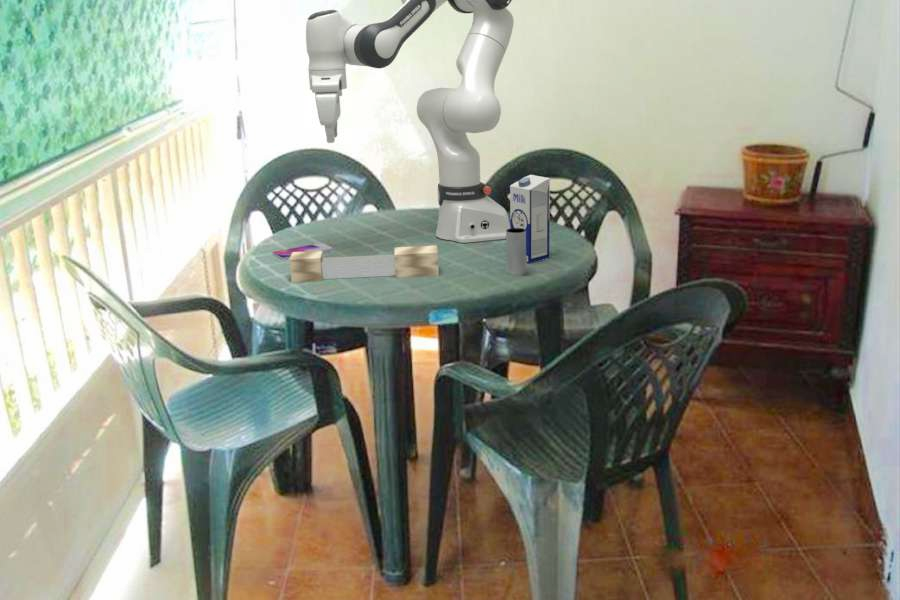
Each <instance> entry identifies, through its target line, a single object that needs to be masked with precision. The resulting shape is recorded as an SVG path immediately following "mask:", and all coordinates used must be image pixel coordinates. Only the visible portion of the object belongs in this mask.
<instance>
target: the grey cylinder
mask: <svg viewBox="0 0 900 600" xmlns="http://www.w3.org/2000/svg"><path fill="white" fill-rule="evenodd" d="M505 244H506V245H505V247H506V249H505V250H506V252H505V253H506V254H505V255H506V257H505V258H506V264H505V265H506V274H507V275H510V276H523V275H526V273H527V263H526V230H525V229H523V228H510V229H507V230H506V239H505Z"/></svg>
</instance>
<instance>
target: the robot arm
mask: <svg viewBox="0 0 900 600" xmlns="http://www.w3.org/2000/svg"><path fill="white" fill-rule="evenodd" d="M400 1H401V3H402V5H401V6H400V7H399V8H398V9H397V10H396V11H394V13H393V14H392V15H391V16H390V17H389V18H387V20H384V21H382V22H376V23H368V24H366V23H365V24H364V23H357V22H355V21H352V20H351V19H348V18H346V17H344V16H343V15H342V14H340V11H338V10H335V9H327V10H322V11H318V12H314V13H312V14H311V15H309V16H308V18H307V21H306V26H305V27H306V28H305V43H306V52H307V55H308V59H309V60H308V61H309V62H308V78H309V79H308V80H309V90H310V91H311V93H313V94H314V96H315V104H316V111H317V116H318V119H319V120H318V121H319V123H320V125H321V126H324V132H325V135H326V142H327V143H328V144H334V142H336V139H335V138H337V137H338V120H339V118H340V116H341V111H342V110H341V101H340V97H342V96H343V90H345V89H347V87H348V85H347V69H346V65H349V66H357V67H358V66H359V67H370V68H375V69H383V68H386V67H388V66H390V65H391V64H392V63H393V62H394V61H395V59H396V58H397V56H398V54H399V52H400V49H401V47H402V46H403V45H404V43H405V42H406V41H407V40H408V39H409V38H410V37H411V36H412V35H413V34H414V33H415V32H416V31H417V30H418V29H419V28H420V27H422V25H423V24H424V23H426V21H427V20H428V19H429V18H430V17H431V15H432V14H433V13H434V12H435V11H436V10H438V9H439V8H440V7H441V6H443V5H444V4H445V3H446V2H447V3H448V4H449V6H450V7H451V8H452V9H453V10H454V11H456V12H457V13H461V14H472V15H473V16H472V17H473V18H472V24H471V27H470V28H469V31H468V33H467V34H466V37H465V40H464V42H463V45H462V47H461V49H460V51H459V54H458V55H457V59H456V62H455V63H456V68H457V70H458V72H459V74H460V75H461V82H460V84H459V86H458V87H457V88H453V87H452V88H451V87H438V88H437V87H436V88H433V89H428V90H425V91H424V92H423V93H421V95H420V97H419V98H418V100H417V103H416V114H417V118H418V119H419V121H420V123H422V125H423V126H424V127H425V128H426V129H427V131H428V132H429V134H430V137H431V139H432V141H433V144H434V147H435V150H436V154H437V155H436V156H437V163H438V165H437V166H438V178H439V180H438V181H439V182H438V184H437V202H438V206H439V208H438V219H437V224H436V225H437V226H436V231H435V234H434V235H435V237H437V238H439V239H442V240H445V241H446V240H447V241H453V242H457V243H462V244H464V243H465V244H467V243H475V242H484V241H485V242H486V241H496V240H506V230H507V229H510V216H509V214H508V213H507V210H506V209H505V208H504V206H502V205H500V203H498V202H496V201H495V200H494V199H493V198H491V197H489V195H490V194H491V193H492V190H491V187H490V186H489V185H487V184H486V183H485V182H482V181H481V156H480V153H479V151H478V149H476V148H475V147H474V146H473V144H472V143H471V142H470V140H469V139H468V135H467V133H469V134H479V133H485V132H489V131H492V130H494V129H495V128H496V126H497V125H498V123H500V122H499V121H500V119H501V114H502V112H501V111H502V109H501V108H502V107H501V104H500V101H499V99H498V97H497V96H496V93H495V83H496V82H495V80H496V77H497V74H498V72H499V69H500V67H501V65H502V64H501V63H502V61H503V59H504V56H505V54H506V52H507V49H508V46H509V44H510V42H511V41H510V40H511V37H512V34H513V27H514V23H515V22H514V16H513V14H512V12H511V11H510V10H509V9H508V8H507V7H508V6H509V5H510V4H511V2H512V1H513V0H400Z"/></svg>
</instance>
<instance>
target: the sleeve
mask: <svg viewBox="0 0 900 600" xmlns="http://www.w3.org/2000/svg"><path fill="white" fill-rule="evenodd" d="M438 251H439V250H438V245H421V246H418V245H417V246H399V247H394V254H393V255H395V273H396V276H395V278H408V277H409V278H410V277H414V278H415V277H430V276H431V277H432V276H434V277H435V276H439V275H440V273H439V269H440V268H439V252H438Z"/></svg>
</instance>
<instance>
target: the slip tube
mask: <svg viewBox="0 0 900 600" xmlns="http://www.w3.org/2000/svg"><path fill="white" fill-rule="evenodd" d="M321 271H322V280H333V279H350V278H351V279H352V278H353V279H356V278H357V279H358V278H373V277H375V278H376V277H392V276H393V277H394V276H395V277H396V273H395V255H394V254H377V255H358V256H354V255H353V256H352V255H351V256H336V257H335V256H332V257H331V256H330V257H323V258H321Z"/></svg>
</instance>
